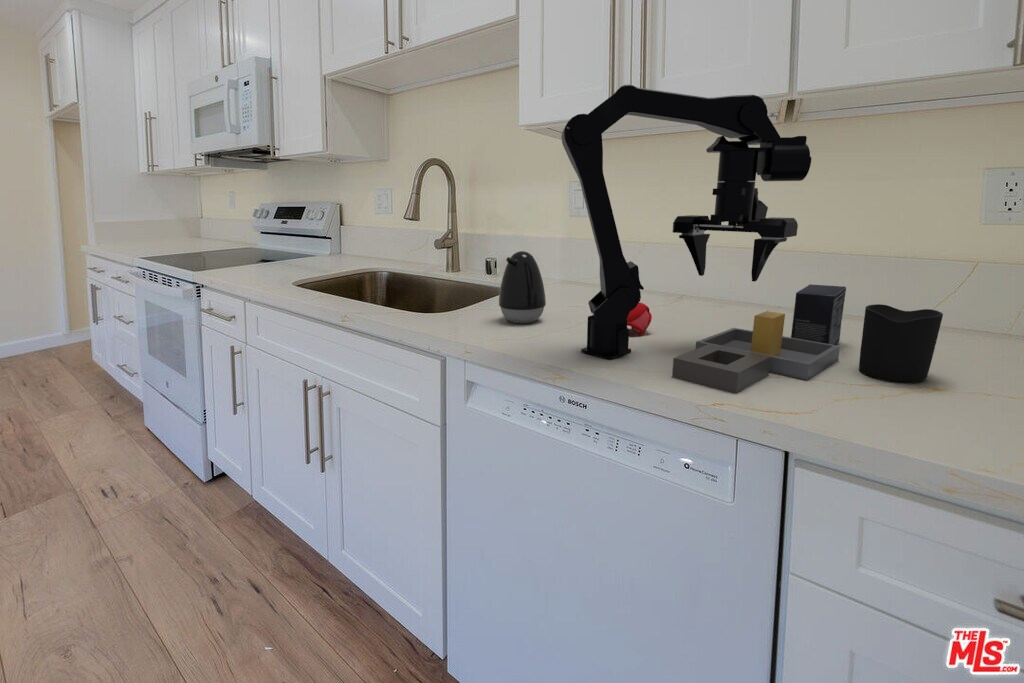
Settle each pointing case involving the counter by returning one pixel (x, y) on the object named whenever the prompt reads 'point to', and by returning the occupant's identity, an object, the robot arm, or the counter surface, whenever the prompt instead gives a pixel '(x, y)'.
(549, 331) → the counter surface
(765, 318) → the block
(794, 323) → the small box
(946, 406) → the counter surface
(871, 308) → the pen holder
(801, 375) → the parts tray
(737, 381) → the gray square frame
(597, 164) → the robot arm
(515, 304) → the pump dispenser
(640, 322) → the cap
